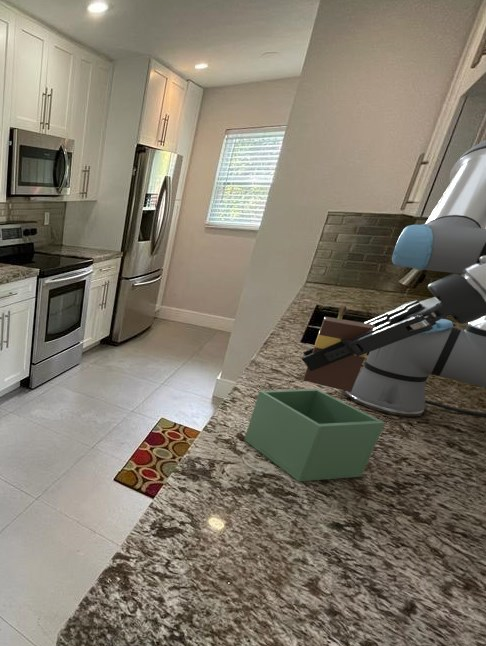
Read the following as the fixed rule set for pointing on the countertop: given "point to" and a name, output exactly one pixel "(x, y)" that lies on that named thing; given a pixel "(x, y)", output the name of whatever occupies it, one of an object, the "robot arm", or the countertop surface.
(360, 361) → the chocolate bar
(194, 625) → the countertop surface
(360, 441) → the trash bin
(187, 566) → the countertop surface
